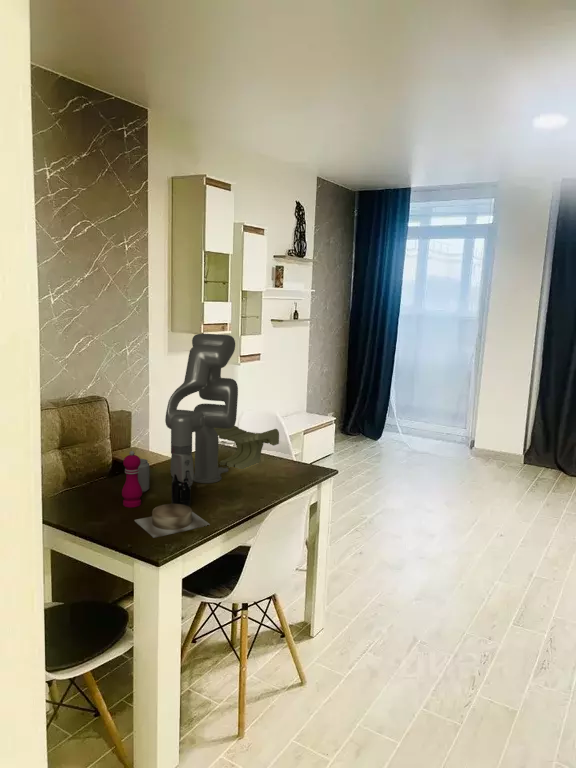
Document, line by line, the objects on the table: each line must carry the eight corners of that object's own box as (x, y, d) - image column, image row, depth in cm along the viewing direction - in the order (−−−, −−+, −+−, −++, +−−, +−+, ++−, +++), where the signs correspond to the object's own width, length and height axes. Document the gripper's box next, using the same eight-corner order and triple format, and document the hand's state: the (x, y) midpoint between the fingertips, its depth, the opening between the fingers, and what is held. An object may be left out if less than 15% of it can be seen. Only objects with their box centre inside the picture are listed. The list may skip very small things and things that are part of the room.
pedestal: (188, 510, 214) (188, 497, 213) (209, 525, 201) (210, 512, 200) (134, 521, 202) (134, 508, 201) (153, 537, 189) (153, 524, 189)
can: (125, 491, 230) (125, 461, 228) (138, 486, 237) (138, 456, 235) (140, 495, 227) (140, 464, 225) (153, 489, 234) (153, 459, 232)
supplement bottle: (192, 502, 222) (192, 470, 220) (188, 508, 215) (188, 476, 213) (173, 501, 222) (174, 469, 220) (169, 507, 215) (169, 475, 213)
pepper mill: (144, 506, 216) (144, 452, 212) (124, 509, 212) (124, 454, 209) (139, 499, 222) (139, 447, 219) (119, 502, 218) (119, 449, 215)
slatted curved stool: (278, 465, 271) (279, 427, 268) (257, 474, 258) (258, 433, 255) (226, 453, 287) (227, 417, 284) (204, 461, 274) (204, 423, 271)
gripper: (202, 453, 210) (201, 502, 213) (180, 442, 224) (180, 488, 227) (182, 456, 206) (182, 506, 209) (161, 444, 220) (161, 491, 223)
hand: (181, 496), depth 218 cm, fingers closed on supplement bottle, 6 cm apart
